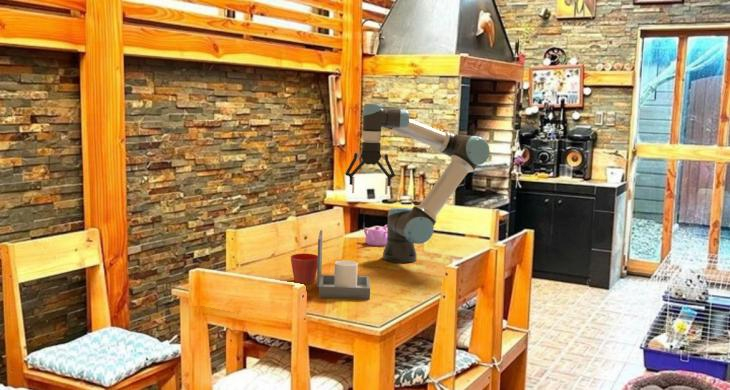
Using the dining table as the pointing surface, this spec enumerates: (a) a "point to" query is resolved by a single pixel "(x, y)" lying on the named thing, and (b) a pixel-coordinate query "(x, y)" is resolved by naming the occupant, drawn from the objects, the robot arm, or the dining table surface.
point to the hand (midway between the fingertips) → (369, 193)
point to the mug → (345, 274)
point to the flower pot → (304, 267)
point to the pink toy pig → (376, 236)
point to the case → (330, 291)
